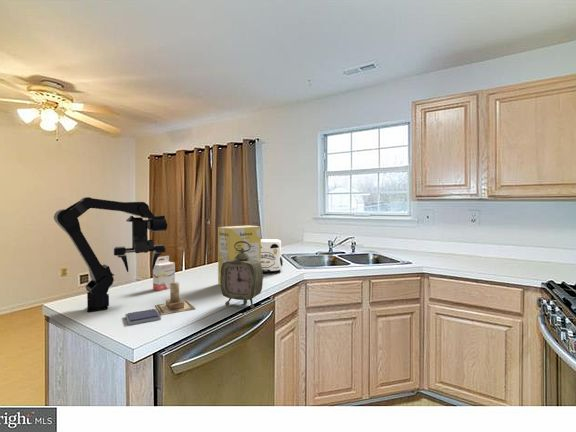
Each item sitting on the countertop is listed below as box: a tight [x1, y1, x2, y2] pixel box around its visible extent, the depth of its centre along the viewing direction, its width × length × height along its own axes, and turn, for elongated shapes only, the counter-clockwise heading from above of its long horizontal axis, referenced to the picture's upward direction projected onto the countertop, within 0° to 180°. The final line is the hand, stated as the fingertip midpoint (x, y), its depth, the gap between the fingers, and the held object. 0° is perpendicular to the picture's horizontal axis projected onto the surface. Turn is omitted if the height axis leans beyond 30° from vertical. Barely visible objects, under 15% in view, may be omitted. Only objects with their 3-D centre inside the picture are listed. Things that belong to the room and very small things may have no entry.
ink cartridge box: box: [152, 255, 176, 292], centre depth 148 cm, size 9×5×15 cm, turn 145°
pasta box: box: [217, 225, 262, 286], centre depth 158 cm, size 18×10×28 cm, turn 134°
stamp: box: [165, 281, 184, 310], centre depth 120 cm, size 5×7×9 cm
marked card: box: [155, 299, 196, 316], centre depth 120 cm, size 12×12×1 cm
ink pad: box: [125, 308, 162, 326], centre depth 109 cm, size 10×9×1 cm
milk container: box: [261, 238, 284, 273], centre depth 185 cm, size 17×17×18 cm
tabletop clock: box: [220, 241, 264, 310], centre depth 123 cm, size 14×9×25 cm, turn 71°
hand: (140, 270), depth 130 cm, fingers open, 9 cm apart
